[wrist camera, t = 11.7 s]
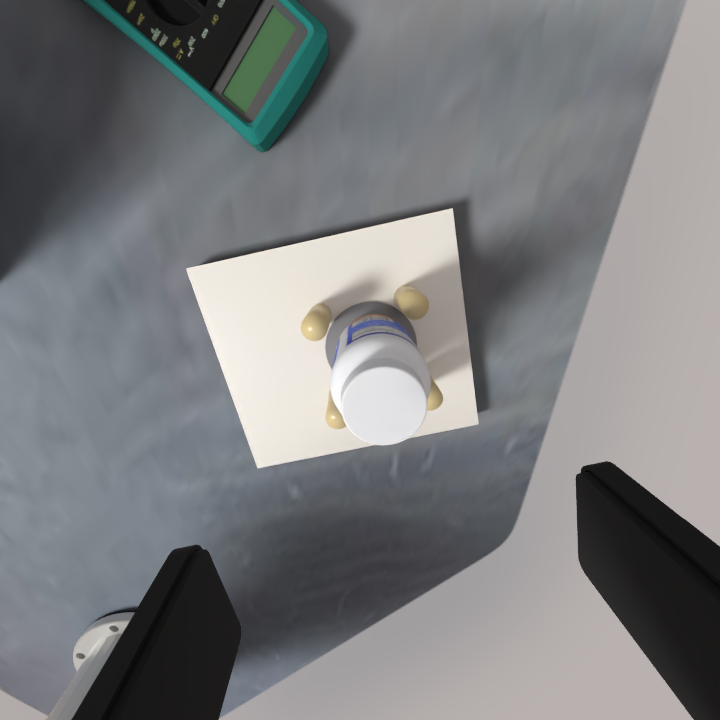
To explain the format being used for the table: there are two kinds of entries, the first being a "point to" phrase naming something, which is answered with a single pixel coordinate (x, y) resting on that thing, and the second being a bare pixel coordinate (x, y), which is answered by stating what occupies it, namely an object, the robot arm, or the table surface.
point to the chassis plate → (335, 329)
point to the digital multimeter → (231, 54)
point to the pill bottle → (379, 381)
